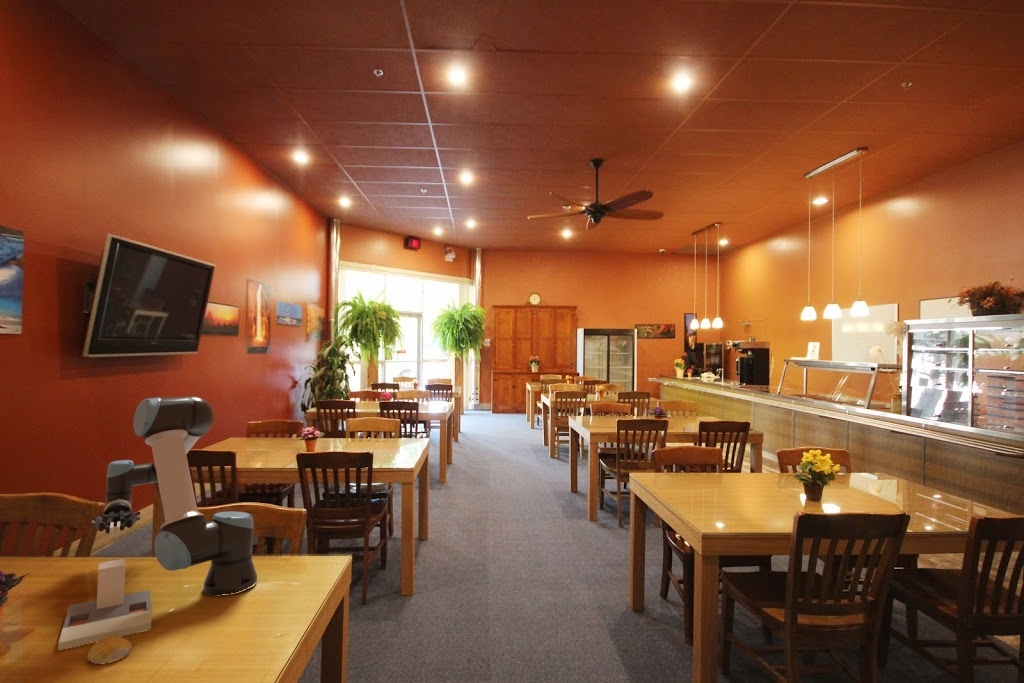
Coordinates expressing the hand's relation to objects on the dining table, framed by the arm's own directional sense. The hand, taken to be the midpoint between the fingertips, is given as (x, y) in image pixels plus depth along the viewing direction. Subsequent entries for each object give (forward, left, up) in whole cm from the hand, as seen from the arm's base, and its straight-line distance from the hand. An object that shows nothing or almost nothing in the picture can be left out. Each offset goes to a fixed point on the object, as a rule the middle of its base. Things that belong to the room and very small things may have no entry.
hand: (114, 531), depth 160 cm
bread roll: (-11, +35, -20) cm, 42 cm away
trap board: (-3, +11, -20) cm, 23 cm away
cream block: (-2, +8, -18) cm, 20 cm away
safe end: (-6, +23, -20) cm, 31 cm away
